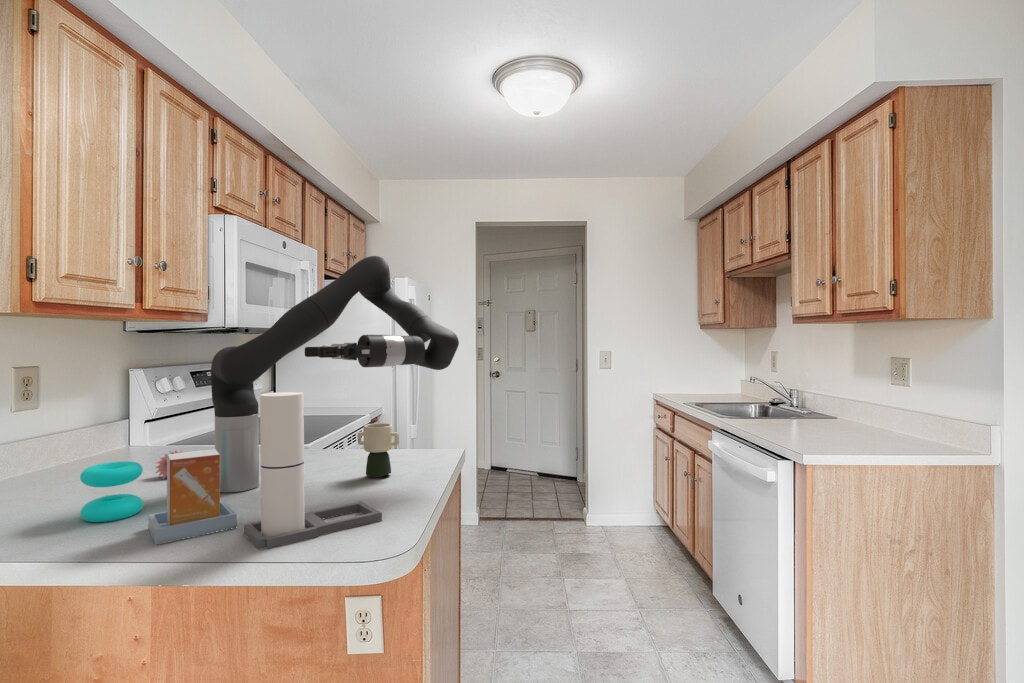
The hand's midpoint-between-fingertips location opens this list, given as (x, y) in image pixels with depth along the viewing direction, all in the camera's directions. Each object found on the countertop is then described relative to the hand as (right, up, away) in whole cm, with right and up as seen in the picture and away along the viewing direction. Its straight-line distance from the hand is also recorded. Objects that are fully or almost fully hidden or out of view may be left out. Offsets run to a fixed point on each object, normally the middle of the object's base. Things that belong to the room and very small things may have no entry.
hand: (311, 352), depth 117 cm
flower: (-43, -33, +22) cm, 58 cm away
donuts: (-36, -33, -9) cm, 50 cm away
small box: (-16, -32, -17) cm, 39 cm away
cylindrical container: (+2, -32, -20) cm, 38 cm away
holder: (+7, -32, -17) cm, 37 cm away
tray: (-16, -32, -17) cm, 40 cm away
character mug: (+9, -32, +20) cm, 39 cm away
